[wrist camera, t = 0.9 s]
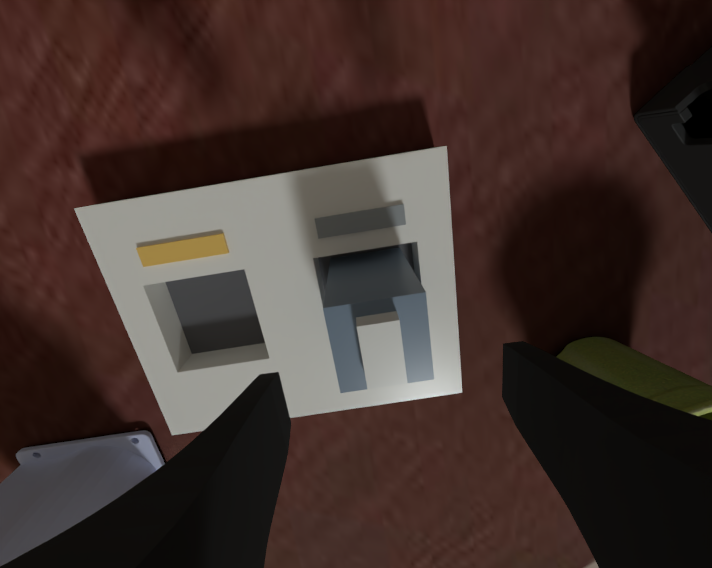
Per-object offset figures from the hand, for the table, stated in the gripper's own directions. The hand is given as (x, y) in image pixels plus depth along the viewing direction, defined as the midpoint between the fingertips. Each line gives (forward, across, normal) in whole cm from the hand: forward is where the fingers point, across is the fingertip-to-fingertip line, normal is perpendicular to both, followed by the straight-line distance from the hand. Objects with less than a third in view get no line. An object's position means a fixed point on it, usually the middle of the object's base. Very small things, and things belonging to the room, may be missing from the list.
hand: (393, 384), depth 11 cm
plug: (+10, 0, 0) cm, 10 cm away
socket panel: (+10, +5, 0) cm, 11 cm away
